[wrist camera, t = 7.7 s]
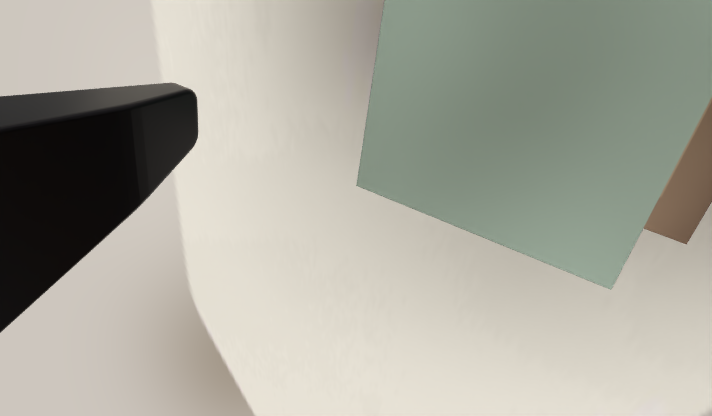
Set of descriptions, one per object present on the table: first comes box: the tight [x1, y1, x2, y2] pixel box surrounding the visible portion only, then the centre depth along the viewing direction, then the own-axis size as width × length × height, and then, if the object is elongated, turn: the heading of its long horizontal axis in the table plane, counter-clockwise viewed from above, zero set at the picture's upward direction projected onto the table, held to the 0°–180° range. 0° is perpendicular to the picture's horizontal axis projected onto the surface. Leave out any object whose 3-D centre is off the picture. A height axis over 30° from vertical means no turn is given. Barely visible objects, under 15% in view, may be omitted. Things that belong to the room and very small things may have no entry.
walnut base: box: [644, 97, 712, 244], centre depth 17 cm, size 10×10×3 cm
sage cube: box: [356, 0, 712, 290], centre depth 14 cm, size 6×6×6 cm
